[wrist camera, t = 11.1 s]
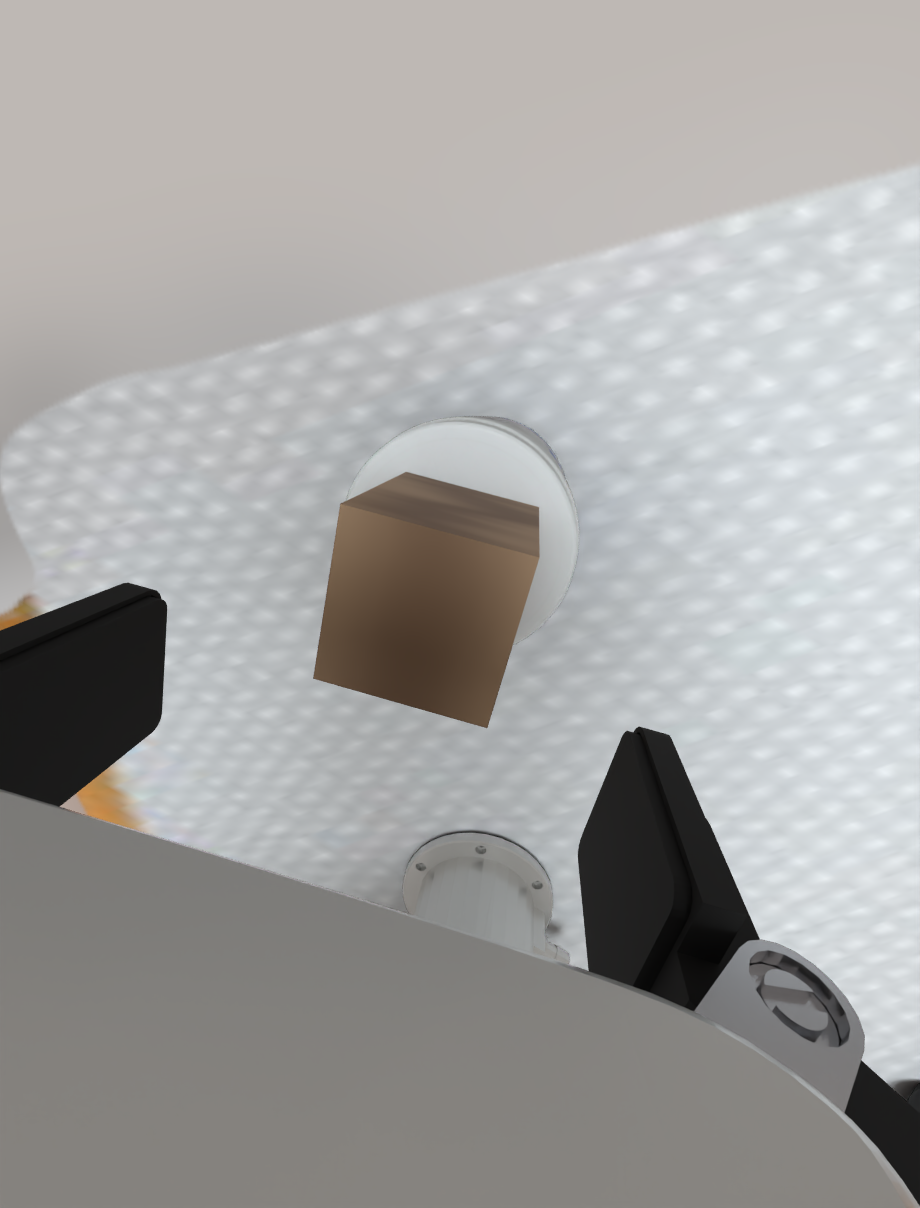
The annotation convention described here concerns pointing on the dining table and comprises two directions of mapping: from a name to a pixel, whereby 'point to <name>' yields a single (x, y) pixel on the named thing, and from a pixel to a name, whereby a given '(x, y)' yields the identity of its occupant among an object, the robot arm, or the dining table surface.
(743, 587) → the dining table surface
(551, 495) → the supplement tub
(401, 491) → the walnut block
